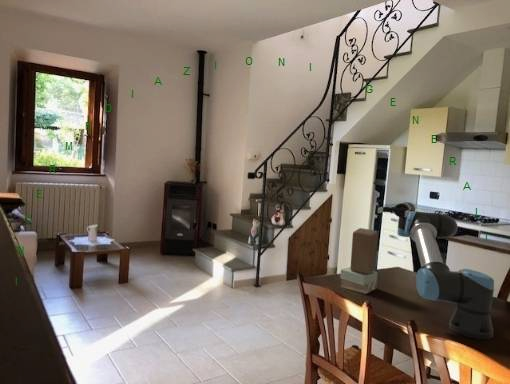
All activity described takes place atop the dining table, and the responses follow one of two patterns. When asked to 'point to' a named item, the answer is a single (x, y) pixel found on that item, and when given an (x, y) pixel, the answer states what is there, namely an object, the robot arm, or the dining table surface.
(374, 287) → the tower base slab
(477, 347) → the dining table surface
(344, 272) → the tower top slab
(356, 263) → the block
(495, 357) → the dining table surface
